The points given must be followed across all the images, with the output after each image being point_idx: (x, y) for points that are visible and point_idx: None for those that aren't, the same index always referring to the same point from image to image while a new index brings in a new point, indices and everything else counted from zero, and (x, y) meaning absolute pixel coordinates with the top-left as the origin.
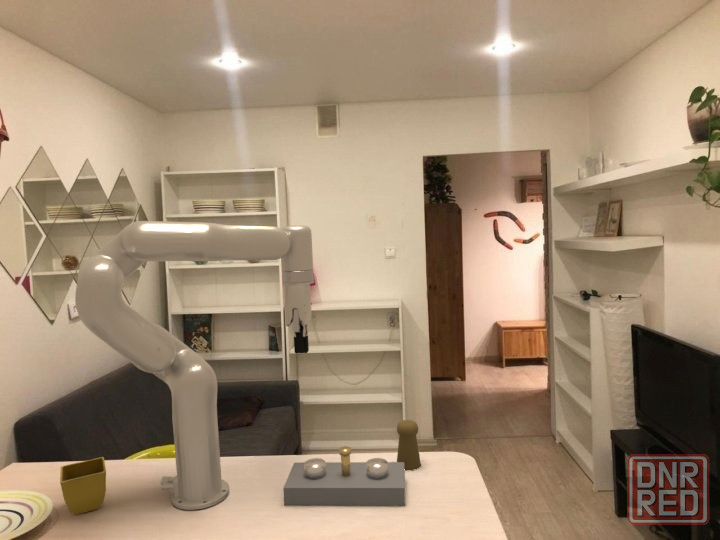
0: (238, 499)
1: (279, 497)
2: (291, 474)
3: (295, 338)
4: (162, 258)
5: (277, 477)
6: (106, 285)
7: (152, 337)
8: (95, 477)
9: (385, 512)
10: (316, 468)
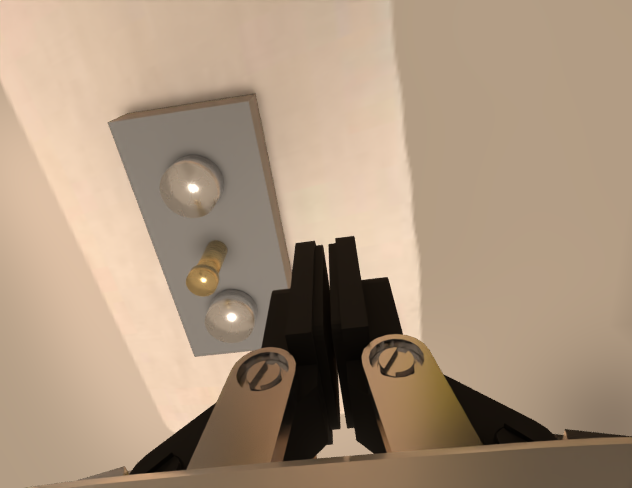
0: None
1: (157, 86)
2: (179, 118)
3: (289, 338)
4: None
5: (252, 38)
6: None
7: None
8: None
9: (173, 308)
10: (166, 202)
